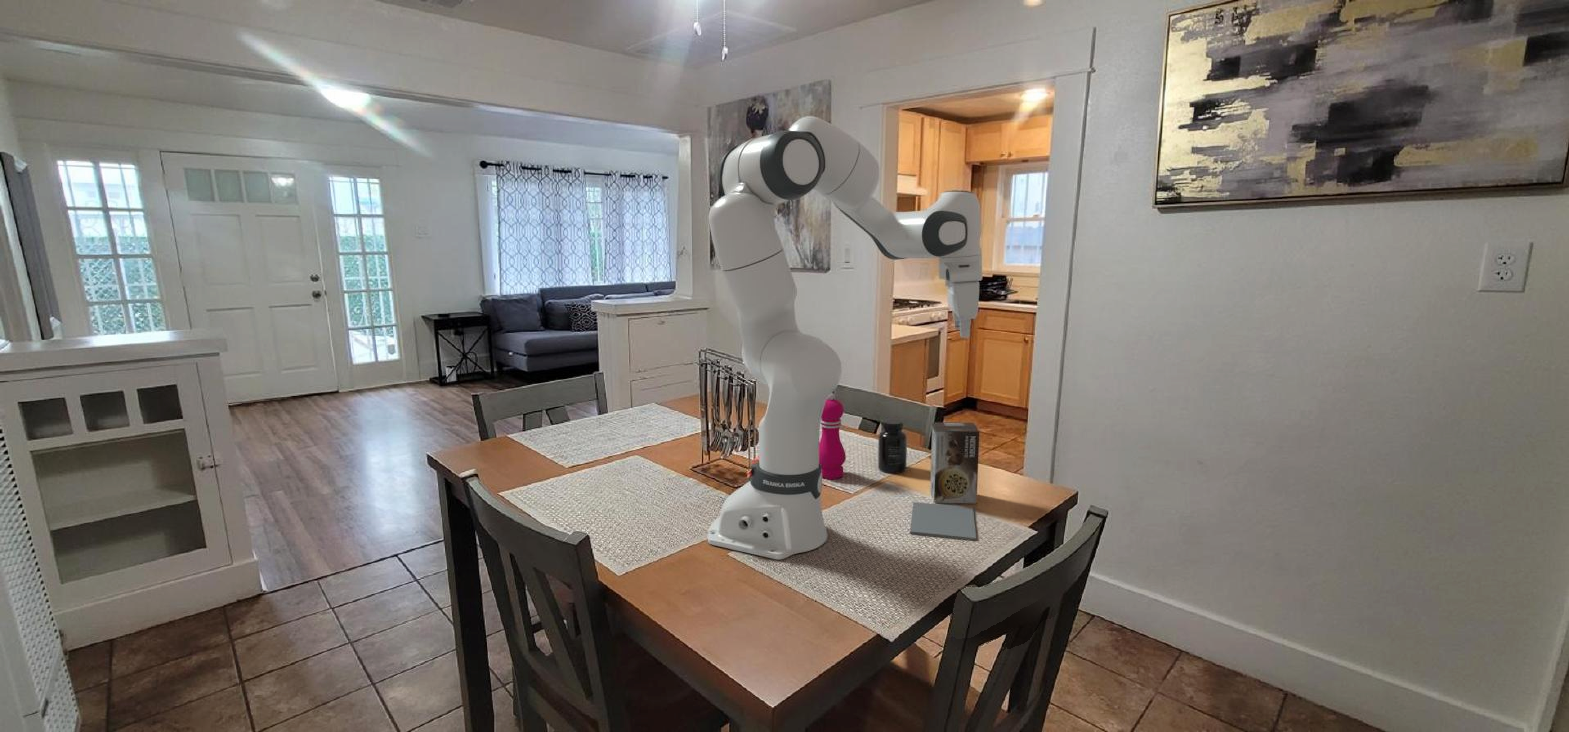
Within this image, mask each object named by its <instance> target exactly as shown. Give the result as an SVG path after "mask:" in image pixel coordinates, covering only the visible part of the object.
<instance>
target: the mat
mask: <svg viewBox="0 0 1569 732" xmlns="http://www.w3.org/2000/svg"><path fill="white" fill-rule="evenodd" d="M974 516H975V514H974V507H973V506H965V505H964V506H961V505H953V504H952V505H950V504H942V503H929V502H918V501H917V502H916V501H913V503H912V512H911V520H910V529H909V534H910V535H918V536H927V537H936V538H946V539H947V538H948V539H954V540H957V539H958V540H967V541H977V533H976V525H975V517H974Z"/></svg>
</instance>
